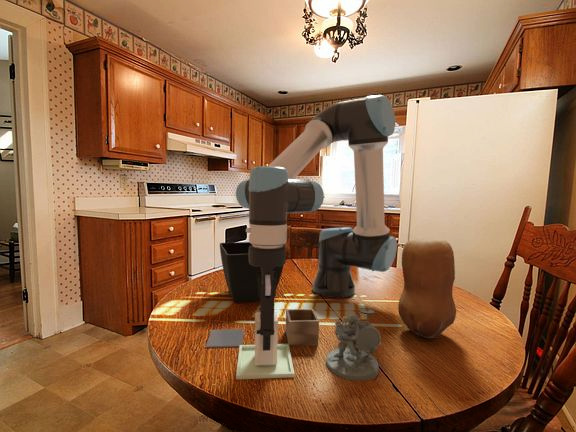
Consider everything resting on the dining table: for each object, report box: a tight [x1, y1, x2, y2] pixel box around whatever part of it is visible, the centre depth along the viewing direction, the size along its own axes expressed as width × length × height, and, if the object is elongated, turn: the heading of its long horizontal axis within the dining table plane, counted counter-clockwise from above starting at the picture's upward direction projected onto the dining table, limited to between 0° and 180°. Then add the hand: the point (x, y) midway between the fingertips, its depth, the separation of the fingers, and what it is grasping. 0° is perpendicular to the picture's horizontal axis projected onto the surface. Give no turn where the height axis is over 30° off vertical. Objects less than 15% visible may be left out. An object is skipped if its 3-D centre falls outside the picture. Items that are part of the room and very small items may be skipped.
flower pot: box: [219, 241, 285, 304], centre depth 99 cm, size 19×19×17 cm
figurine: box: [325, 307, 382, 382], centre depth 60 cm, size 11×11×12 cm
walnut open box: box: [284, 308, 320, 347], centre depth 71 cm, size 7×7×6 cm
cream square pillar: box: [254, 311, 279, 365], centre depth 61 cm, size 5×5×9 cm
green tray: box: [235, 343, 295, 380], centre depth 61 cm, size 11×11×1 cm
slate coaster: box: [205, 328, 245, 349], centre depth 70 cm, size 8×8×1 cm
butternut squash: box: [397, 238, 457, 339], centre depth 74 cm, size 14×13×25 cm
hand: (265, 355), depth 61 cm, fingers closed on cream square pillar, 5 cm apart
